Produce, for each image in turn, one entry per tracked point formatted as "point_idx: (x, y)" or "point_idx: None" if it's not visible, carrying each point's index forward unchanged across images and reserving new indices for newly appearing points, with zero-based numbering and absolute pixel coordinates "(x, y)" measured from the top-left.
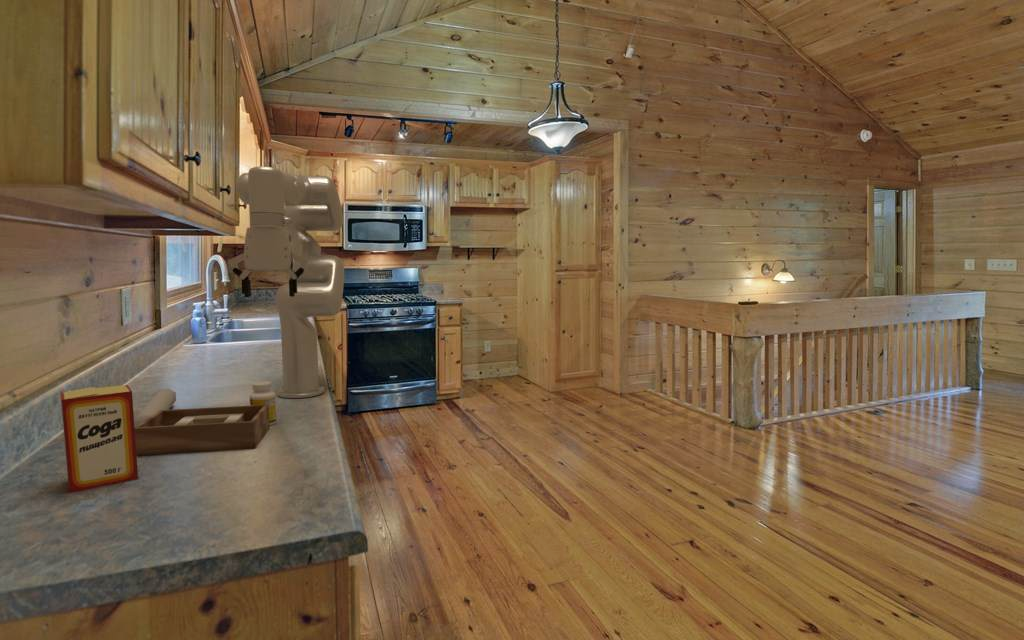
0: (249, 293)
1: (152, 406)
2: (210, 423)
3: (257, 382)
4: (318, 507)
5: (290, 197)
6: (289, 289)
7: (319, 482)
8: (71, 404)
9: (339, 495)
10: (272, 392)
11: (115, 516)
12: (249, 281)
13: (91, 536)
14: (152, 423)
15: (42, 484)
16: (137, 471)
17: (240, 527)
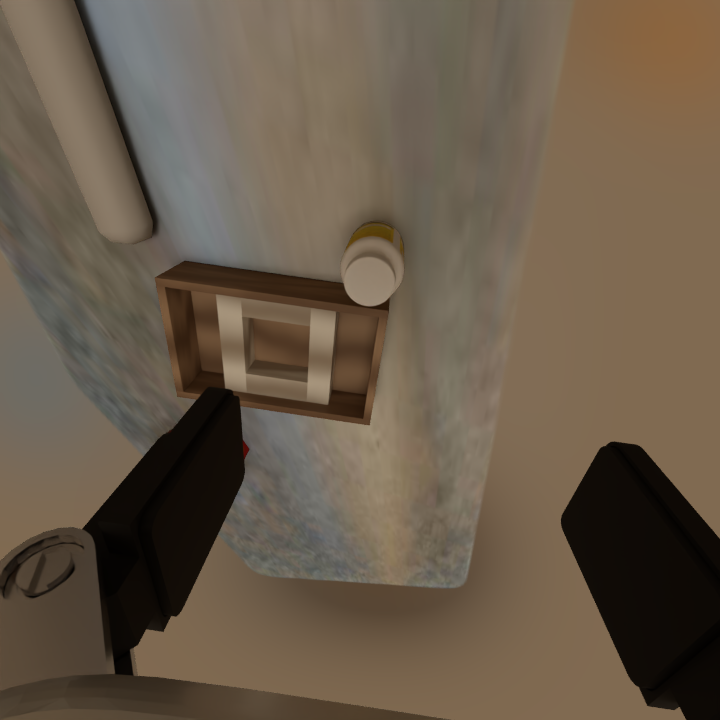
0: (232, 454)
1: (87, 166)
2: (297, 409)
3: (356, 269)
4: (441, 556)
5: None
6: (586, 576)
7: (450, 517)
8: None
9: (464, 545)
10: (398, 281)
11: (271, 518)
12: (168, 545)
13: (270, 540)
14: (179, 335)
15: (147, 430)
16: (245, 456)
17: (378, 562)
